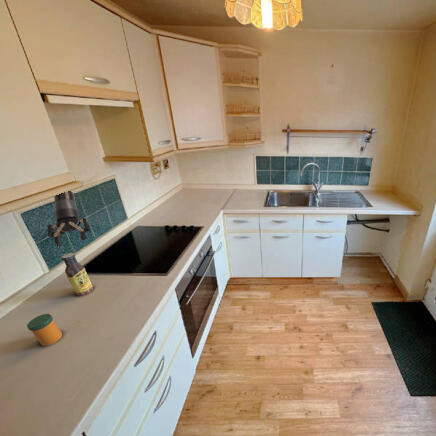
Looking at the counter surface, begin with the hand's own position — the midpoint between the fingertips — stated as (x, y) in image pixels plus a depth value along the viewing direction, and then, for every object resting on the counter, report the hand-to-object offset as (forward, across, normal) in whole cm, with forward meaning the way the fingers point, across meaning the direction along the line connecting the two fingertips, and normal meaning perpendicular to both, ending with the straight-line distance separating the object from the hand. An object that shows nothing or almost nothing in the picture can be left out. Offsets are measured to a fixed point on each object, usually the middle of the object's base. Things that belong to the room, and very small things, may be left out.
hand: (71, 242), depth 105 cm
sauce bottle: (+23, 0, +7) cm, 24 cm away
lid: (+33, -6, -18) cm, 38 cm away
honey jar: (+40, -6, -11) cm, 42 cm away
